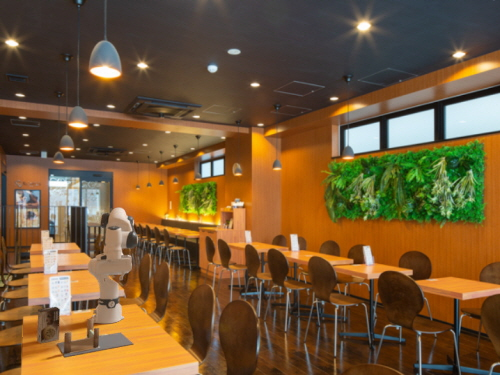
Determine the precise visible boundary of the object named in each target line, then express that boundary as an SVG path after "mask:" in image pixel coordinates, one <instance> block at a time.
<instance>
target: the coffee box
mask: <svg viewBox="0 0 500 375" xmlns="http://www.w3.org/2000/svg"><path fill="white" fill-rule="evenodd" d="M60 314H61V312H60V308H59V307H58V306H52V307H46V308H40V309H38V310H37V331H36V332H37V336H36V341H37V342H38V343H39V344H44V343H50V342H54V341H59V340H60Z"/></svg>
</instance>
